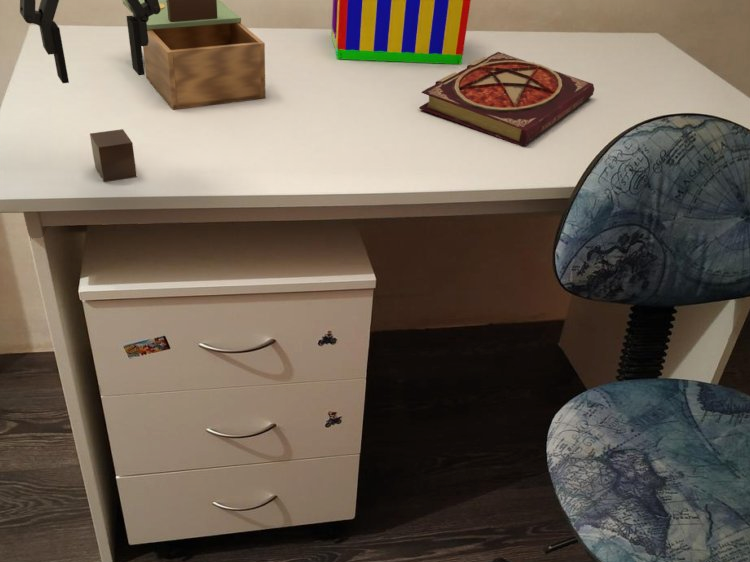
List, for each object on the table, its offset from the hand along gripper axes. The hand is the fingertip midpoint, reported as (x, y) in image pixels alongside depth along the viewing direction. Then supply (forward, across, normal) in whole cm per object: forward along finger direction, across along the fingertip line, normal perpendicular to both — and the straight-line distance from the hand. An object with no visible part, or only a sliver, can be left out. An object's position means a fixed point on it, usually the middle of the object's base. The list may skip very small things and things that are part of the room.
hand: (101, 75), depth 103 cm
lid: (+4, +22, +35) cm, 42 cm away
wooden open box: (+13, +22, +25) cm, 36 cm away
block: (+13, 0, 0) cm, 13 cm away
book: (+14, +70, +3) cm, 71 cm away
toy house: (+14, +64, +33) cm, 73 cm away
